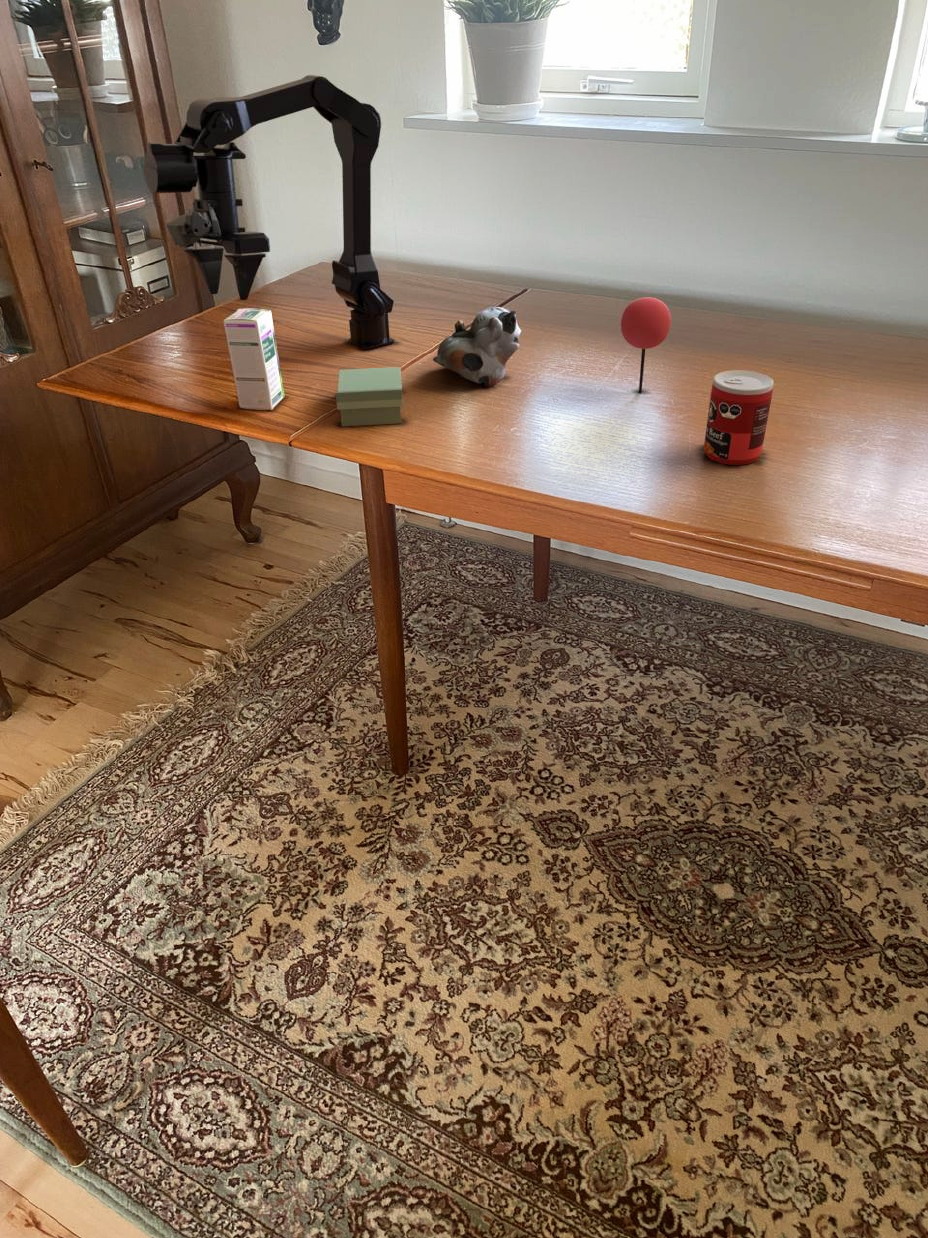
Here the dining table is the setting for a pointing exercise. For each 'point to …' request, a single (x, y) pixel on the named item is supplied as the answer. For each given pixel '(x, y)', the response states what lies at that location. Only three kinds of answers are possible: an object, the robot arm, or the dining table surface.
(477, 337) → the lucky cat figurine
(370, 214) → the robot arm
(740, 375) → the canned food
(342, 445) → the dining table surface
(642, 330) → the lollipop
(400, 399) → the green lidded box
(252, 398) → the syrup box
